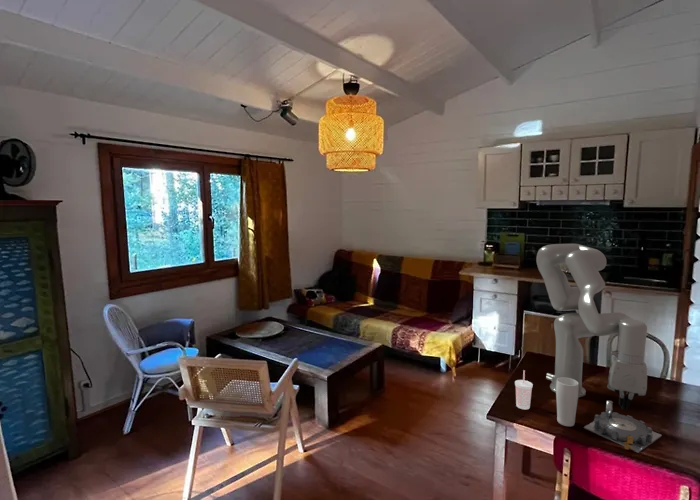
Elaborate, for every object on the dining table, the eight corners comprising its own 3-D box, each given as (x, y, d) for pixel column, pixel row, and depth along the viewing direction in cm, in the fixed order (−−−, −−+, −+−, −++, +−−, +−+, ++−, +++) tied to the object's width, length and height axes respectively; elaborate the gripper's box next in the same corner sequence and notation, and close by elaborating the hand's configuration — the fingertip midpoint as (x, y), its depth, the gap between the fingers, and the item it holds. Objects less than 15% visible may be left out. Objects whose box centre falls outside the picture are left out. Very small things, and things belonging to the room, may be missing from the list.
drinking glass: (550, 418, 138) (552, 377, 136) (568, 417, 138) (570, 376, 137) (562, 429, 131) (564, 386, 130) (581, 427, 132) (583, 385, 130)
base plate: (580, 429, 131) (580, 425, 130) (608, 414, 140) (608, 410, 140) (635, 455, 117) (635, 450, 117) (661, 436, 126) (662, 432, 126)
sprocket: (621, 447, 120) (623, 425, 119) (582, 420, 135) (583, 400, 135) (665, 441, 123) (667, 419, 122) (622, 415, 138) (623, 396, 137)
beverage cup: (513, 408, 145) (514, 371, 144) (515, 401, 151) (516, 366, 149) (531, 412, 142) (532, 375, 141) (532, 404, 148) (533, 368, 146)
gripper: (604, 357, 130) (599, 408, 133) (660, 365, 124) (654, 419, 126) (601, 349, 137) (596, 397, 139) (654, 356, 130) (648, 407, 133)
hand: (624, 407), depth 133 cm, fingers closed
